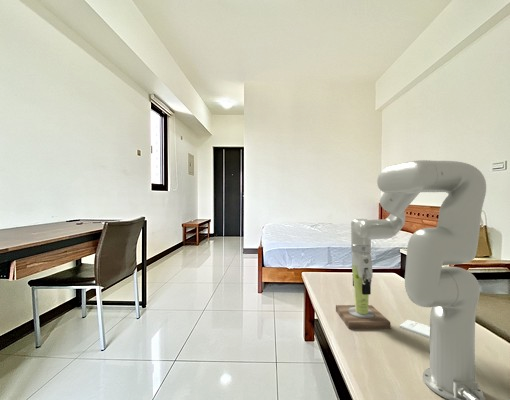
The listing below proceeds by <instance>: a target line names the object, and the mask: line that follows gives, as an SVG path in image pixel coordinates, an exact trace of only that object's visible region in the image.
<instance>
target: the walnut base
mask: <svg viewBox="0 0 510 400" xmlns="http://www.w3.org/2000/svg"><path fill="white" fill-rule="evenodd" d="M335 312H336V314H338V316H339V318H340V319H341V320H342V322H343V323H344V324H345V325H346V327H347V329H348V330H349V329H350V330H352V329H353V330H361V329H362V330H363V329H364V330H365V329H366V330H368V329H370V330H373V329H374V330H379V329H380V330H381V329H382V330H383V329H386V330H388V329H391V321H390V320H389V319H388V318H386V316H384V315H383V314H382V313H381V312H380V311H379V310H378V309H377V308H375V307H374V306H373V305H372V304H368V313H367V314H359V313H357V312H356V308H355V304H352V305H351V304H345V305H343V304H342V305H341V304H336V305H335Z"/></svg>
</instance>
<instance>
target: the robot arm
mask: <svg viewBox="0 0 510 400" xmlns="http://www.w3.org/2000/svg"><path fill="white" fill-rule="evenodd" d="M376 181H377V182H376V183H377V187H378V189H379V190H380V191H381V192H382V193H383V194H382V195H381V196H380V198H379V205H380V206H381V208H382V209H383V210H384V211H385V212H387V213H389V215H388V216H387V217H386V218H385V219H368V218H354V219H352V220H351V223H350V225H351V226H350V227H351V228H350V229H351V230H350V232H351V235H350V236H351V237H350V239H351V243H350V245H351V249H350V250H351V253H352V256H351V257H352V258H351V266H352V265H355V267H356V271H357V276H358V277H360V278H362V282H363V284H362V294H363V295H369V296H370V295H371V293H372V292H371V291H372V289H371V287H372V279H373V274H374V273H373V262H372V240H387V239H392V238H393V237H395V236H396V235H397V234H398V233H399V232H400V231H401V230H402V228H403V227H405V222H406V212H405V210H406V209H407V208H408V207H409V206H410V204H411V203H413V201H414V200H415V199H416V198H417V197H418V195H420V193H447V196H446V197H445V199H444V200H443V201H442V204H441V205H440V207H439V210H438V211H439V212H438V221H437V224H436V227H424V228H420V229H418V230H416V231H415V232H413V233H412V234H411V236H410V237H409V238H408V239H409V240H408V242H407V248H406V256H405V257H406V259H405V270H404V271H405V272H404V289H405V292H406V294H407V296H408V298H409V300H410V301H411V302H412V303H413V304H415V305H416V306H418V307H422V308H431V309H430V313H429V326H430V338H429V368H426V369H425V370H424V371H423V373H422V378H423V381H424V384H426V386H427V387H428V388H429V389H430V390H431V391H433V392H434V393H435V394H437V395H438V396H440V397H443V398H445V399H446V400H486V399H487V398H486V397H485V395H484V392H483V390H482V388H481V387H480V385H479V382H477V380H476V354H475V353H476V343H475V342H476V315H477V308H478V304H479V300H480V295H481V289H480V284H479V282H478V280H477V278H476V277H475V275H474V274H473V273H471V272H470V271H468V270H467V269H465V268H463V267H459V266H451V265H464V264H468V263H470V262H472V261H474V259H476V255H477V253H478V252H477V251H478V247H479V246H478V245H479V238H480V230H481V229H480V228H481V218H482V213H483V207H484V203H485V198H486V194H487V182H486V177H485V175H484V174H483V173H482V171H480V169H478V167H476V166H474V165H472V164H469V163H468V162H462V161H456V160H455V161H454V160H431V159H430V160H427V159H426V160H425V159H423V160H422V159H421V160H413V161H407V162H403V163H398V164H392V165H388V166H386V167H384V168H383V169H382V170H381V171H380V172H379V173H378V176H377V180H376ZM449 265H450V266H449ZM352 277H353V273H352ZM364 279H366V280H364ZM352 286H353V287H354V280H353V279H352Z"/></svg>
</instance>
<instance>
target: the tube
mask: <svg viewBox="0 0 510 400" xmlns="http://www.w3.org/2000/svg"><path fill="white" fill-rule="evenodd" d="M351 270H352V271H351V272H352V274H353V276H352V281H353V280H354V286H353V289H354V290H353V291H354V302H355V303H354V305H355V308H356V312H357V313H359V314H367V313H368V305H369V296H370V295H363V294H362V284H363V282H362V278H360V277H358V276H357V271H356V267H355V265H352V264H351ZM364 280H366V279H364Z"/></svg>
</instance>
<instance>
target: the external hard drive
mask: <svg viewBox="0 0 510 400" xmlns="http://www.w3.org/2000/svg"><path fill="white" fill-rule="evenodd" d="M399 329H402V330H405V331H408V332H411V333H413V334H416V335H419V336H422V337H425V338H428V339H430V325H426V324H423V323H421V322H417V321H413V320H410V319H408V318H407V319H406V320H405V321H404V322H402V323H401V324H399Z"/></svg>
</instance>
